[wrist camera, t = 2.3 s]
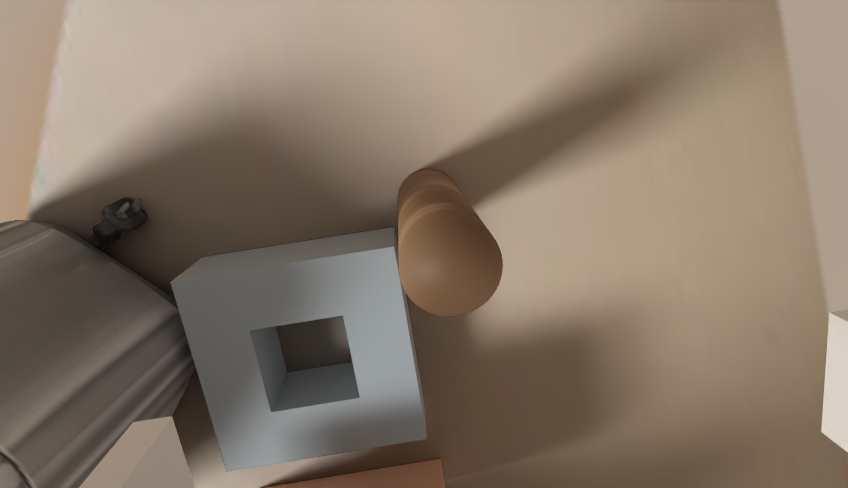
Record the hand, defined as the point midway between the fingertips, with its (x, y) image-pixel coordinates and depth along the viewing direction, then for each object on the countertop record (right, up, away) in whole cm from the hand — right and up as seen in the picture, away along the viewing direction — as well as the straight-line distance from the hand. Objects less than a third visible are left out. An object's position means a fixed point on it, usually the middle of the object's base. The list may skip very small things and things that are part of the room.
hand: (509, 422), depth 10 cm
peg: (-1, +7, +24) cm, 25 cm away
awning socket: (-9, -6, +27) cm, 29 cm away
